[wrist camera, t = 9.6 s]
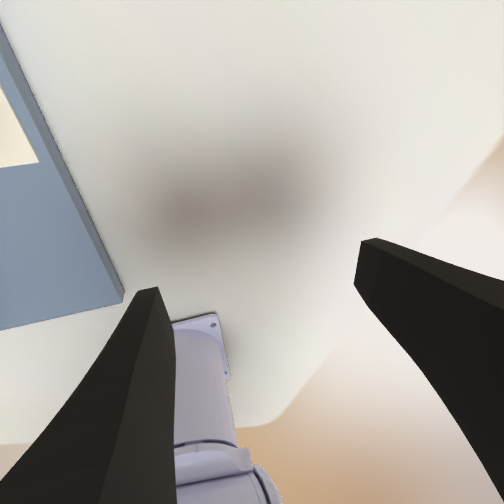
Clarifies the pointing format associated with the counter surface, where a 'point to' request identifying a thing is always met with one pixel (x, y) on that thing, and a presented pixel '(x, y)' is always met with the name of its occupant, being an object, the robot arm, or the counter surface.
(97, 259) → the board
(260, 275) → the counter surface
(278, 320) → the counter surface
